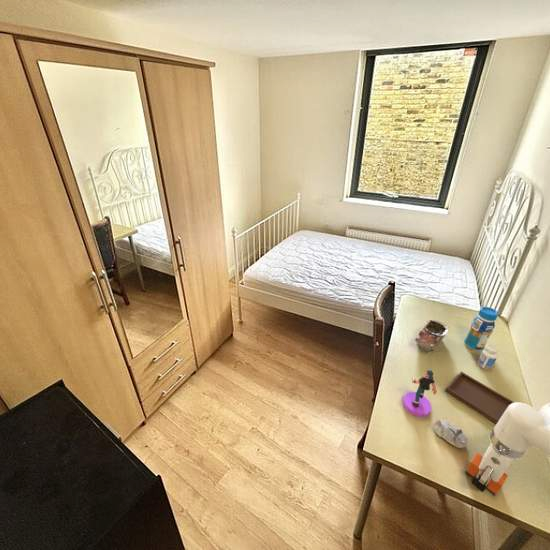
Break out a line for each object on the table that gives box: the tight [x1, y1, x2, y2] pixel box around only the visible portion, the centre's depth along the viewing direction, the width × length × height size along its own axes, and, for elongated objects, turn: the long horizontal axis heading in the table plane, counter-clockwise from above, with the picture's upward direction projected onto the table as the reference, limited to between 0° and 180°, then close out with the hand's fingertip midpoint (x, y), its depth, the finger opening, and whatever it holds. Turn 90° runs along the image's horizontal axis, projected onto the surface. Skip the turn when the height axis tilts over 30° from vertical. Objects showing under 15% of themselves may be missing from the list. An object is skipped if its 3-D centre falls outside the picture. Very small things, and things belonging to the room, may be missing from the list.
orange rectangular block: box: [464, 452, 508, 497], centre depth 86 cm, size 8×4×6 cm, turn 39°
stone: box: [433, 419, 468, 449], centre depth 98 cm, size 10×7×3 cm
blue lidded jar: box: [463, 306, 499, 352], centre depth 133 cm, size 8×8×20 cm
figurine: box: [402, 369, 438, 418], centre depth 104 cm, size 9×9×18 cm
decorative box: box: [414, 318, 450, 352], centre depth 134 cm, size 13×20×10 cm, turn 128°
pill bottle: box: [476, 344, 499, 371], centre depth 124 cm, size 6×5×10 cm
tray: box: [444, 371, 515, 425], centre depth 111 cm, size 20×14×2 cm
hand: (483, 475), depth 86 cm, fingers open, 9 cm apart
